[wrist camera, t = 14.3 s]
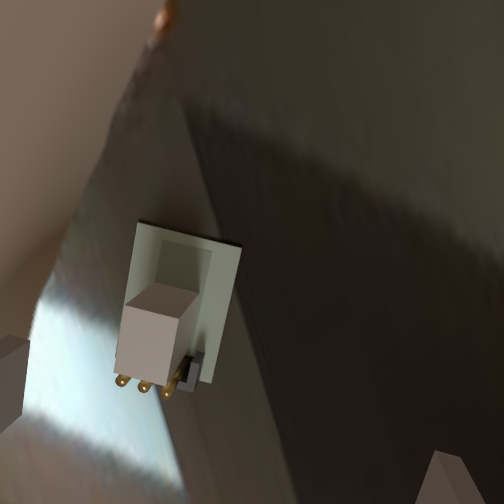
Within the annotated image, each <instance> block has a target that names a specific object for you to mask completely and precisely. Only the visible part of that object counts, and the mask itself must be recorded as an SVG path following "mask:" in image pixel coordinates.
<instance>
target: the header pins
mask: <svg viewBox="0 0 504 504" xmlns="http://www.w3.org/2000/svg"><path fill="white" fill-rule="evenodd" d="M193 358H194V357H192V356H188V355H185V356H184V358H183V359H182V361H181V363H180V364H179V366H178V368H177V369H176V371H175V372H174V374H173V376H172V377H171V379H170V381H169V382H168V384H167V385H166V386H163V388H162V389H161V391H160V395H161V397H162V398H164V399H169V398H170V397H171V396H172V394H173V392H174V390H175V389H176V387H177V385H178V383H179V381H180V380H181V378H182V376H183V374H184V373H185V371H186V370H190V365H191V361H192V360H193ZM131 378H132V377H129V376H125V375H121V374H119V375H118V377H117V378H116V380H115V382H116V384H117V385H118V386H120V387H124V386H125V385H126V384H127V383H128V381H129V380H130V379H131ZM152 385H153V383H151V382H147V381H144V380H141V382H140V383H139V384H138V390H139V391H140V392H142V393H146V392H148V390H149V389H150V387H151V386H152Z"/></svg>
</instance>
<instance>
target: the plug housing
mask: <svg viewBox="0 0 504 504" xmlns="http://www.w3.org/2000/svg"><path fill="white" fill-rule="evenodd" d="M199 294H200V293H197V292H193V291H189V290H185V289H181V288H177V287H173V286H169V285H165V284H161V283H157V282H153V283H152V284H151V285H149V286H148V287H147V288H146V289H144V290H143V291H142V292H141V293H139V294H138V295H137V296H135V297H134V298H133V299H132V300H130V301H129V302H128V303H127V304H125V305H124V311H123V318H122V324H121V330H120V336H119V342H118V348H117V355H116V361H115V367H114V373H117V374H121V375H125V376H129V377H132V378H136V379H140V380H144V381H147V382H151V383H155V384H159V385H162V386H166V385H167V384H168V382H169V381H170V379H171V377H172V376H173V374H174V372H175V371H176V369H177V368H178V366H179V364H180V363H181V361H182V359H183V358H184V356H185V355H186V353H187V351H188V348H189V343H190V338H191V333H192V328H193V323H194V318H195V313H196V309H197V304H198V299H199Z"/></svg>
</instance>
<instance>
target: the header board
mask: <svg viewBox="0 0 504 504" xmlns="http://www.w3.org/2000/svg"><path fill="white" fill-rule="evenodd" d="M241 250H242V248H241V247H237V246H233V245H229V244H225V243H221V242H217V241H213V240H208V239H204V238H200V237H196V236H192V235H188V234H184V233H180V232H176V231H172V230H168V229H164V228H160V227H156V226H152V225H148V224H144V223H140V222H138V224H137V230H136V236H135V241H134V247H133V253H132V259H131V265H130V271H129V277H128V283H127V289H126V295H125V301H124V305H125V304H127V303H128V302H129V301H130V300H132V299H133V298H134V297H135V296H137V295H138V294H139V293H141V292H142V291H143V290H144V289H146V288H147V287H148V286H149V285H151V284H152V283H153V282H157V283H161V284H165V285H169V286H173V287H177V288H181V289H185V290H189V291H193V292H197V293H200V294H199V299H198V304H197V309H196V313H195V318H194V323H193V328H192V333H191V338H190V343H189V348H188V351H187V353H186V355H188V356H192V357H194V358H193V360H192V361H191V365H190V370H186V371H185V373H184V374H183V376H182V378H181V380H180V381H179V383H178V385H177V387H176V388H177V389H181V390H184V391H188V392H192V393H193V392H194V390H195V388H196V386H197V384H198V382H199V380H200V381H203V382H207V383H211V382H212V378H213V374H214V369H215V365H216V360H217V356H218V352H219V347H220V343H221V338H222V334H223V330H224V325H225V321H226V316H227V312H228V307H229V303H230V299H231V294H232V290H233V285H234V281H235V277H236V272H237V268H238V263H239V259H240V255H241ZM123 311H124V307H123ZM122 318H123V312H122ZM122 318H121V324H122ZM121 324H120V330H121ZM120 330H119V336H120ZM119 336H118V342H119ZM118 342H117V348H118ZM117 348H116V354H115V358H116V355H117Z"/></svg>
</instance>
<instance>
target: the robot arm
mask: <svg viewBox="0 0 504 504" xmlns="http://www.w3.org/2000/svg"><path fill="white" fill-rule="evenodd" d="M29 349H30V340H26V339H23V338H19V337H15V336H12V335H7V336H5V337H3V338H2V339H0V433H1V432H3V431H4V430H5V429H6V428H7V427H8V426H9V425H10V424H12V423H13V422H14V421H15V420H16V419H17V418H18V417H19V416H21V415H22V407H23V399H24V390H25V382H26V374H27V365H28V357H29ZM415 504H485V503H484V501H483V499H482V497H481V495H480V493H479V491H478V489H477V488H476V486H475V484H474V482H473V480H472V478H471V476H470V475H469V473H468V471H467V469H466V467H465V465H464V463H463V462H462V460H461V458H460V457H457V456H453V455H450V454H446V453H442V452H439V451H435V452H434V455H433V457H432V460H431V463H430V465H429V468H428V471H427V474H426V476H425V479H424V482H423V484H422V487H421V490H420V492H419V495H418V498H417V501H416V503H415Z"/></svg>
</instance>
